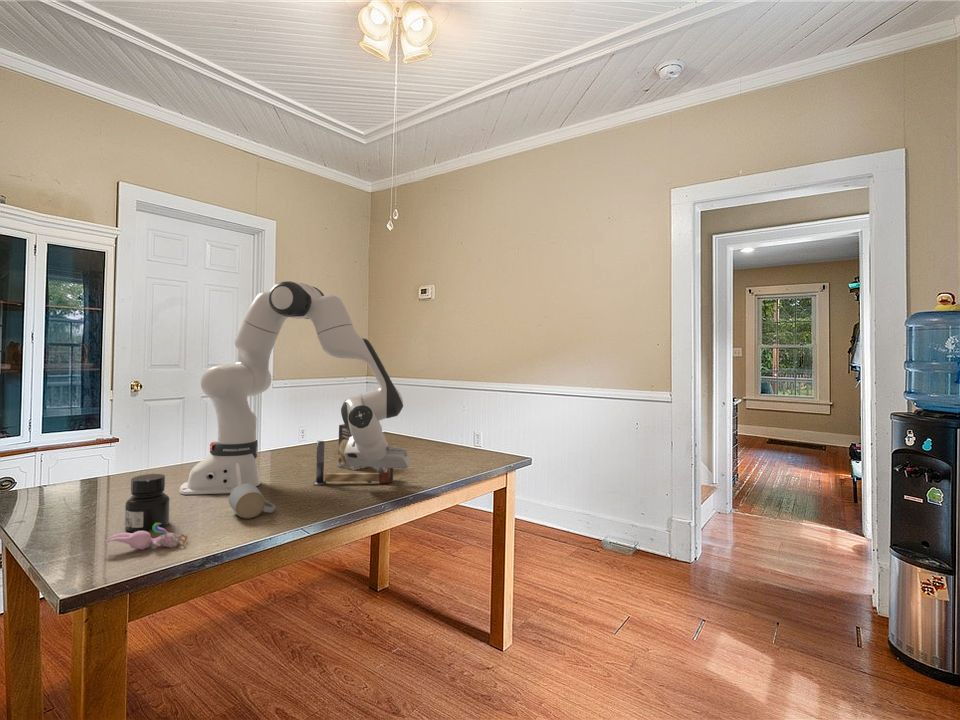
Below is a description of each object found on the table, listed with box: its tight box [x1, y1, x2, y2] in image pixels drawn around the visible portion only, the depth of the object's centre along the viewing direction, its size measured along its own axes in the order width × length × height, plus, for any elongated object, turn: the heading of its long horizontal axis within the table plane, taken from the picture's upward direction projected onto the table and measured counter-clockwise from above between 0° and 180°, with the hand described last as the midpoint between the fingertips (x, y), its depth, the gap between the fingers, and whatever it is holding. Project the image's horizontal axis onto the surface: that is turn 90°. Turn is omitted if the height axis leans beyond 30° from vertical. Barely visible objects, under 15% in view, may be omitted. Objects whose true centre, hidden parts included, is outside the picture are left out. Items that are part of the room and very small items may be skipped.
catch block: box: [377, 468, 394, 481], centre depth 163 cm, size 5×2×5 cm, turn 98°
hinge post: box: [312, 440, 327, 486], centre depth 157 cm, size 4×4×14 cm
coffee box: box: [337, 423, 367, 471], centre depth 180 cm, size 9×6×16 cm
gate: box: [324, 468, 391, 484], centre depth 159 cm, size 21×4×11 cm, turn 98°
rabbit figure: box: [103, 523, 189, 551], centre depth 104 cm, size 6×6×15 cm
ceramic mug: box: [228, 483, 276, 520], centre depth 127 cm, size 11×8×8 cm
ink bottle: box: [124, 473, 170, 533], centre depth 117 cm, size 10×9×12 cm
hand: (382, 470), depth 157 cm, fingers closed
